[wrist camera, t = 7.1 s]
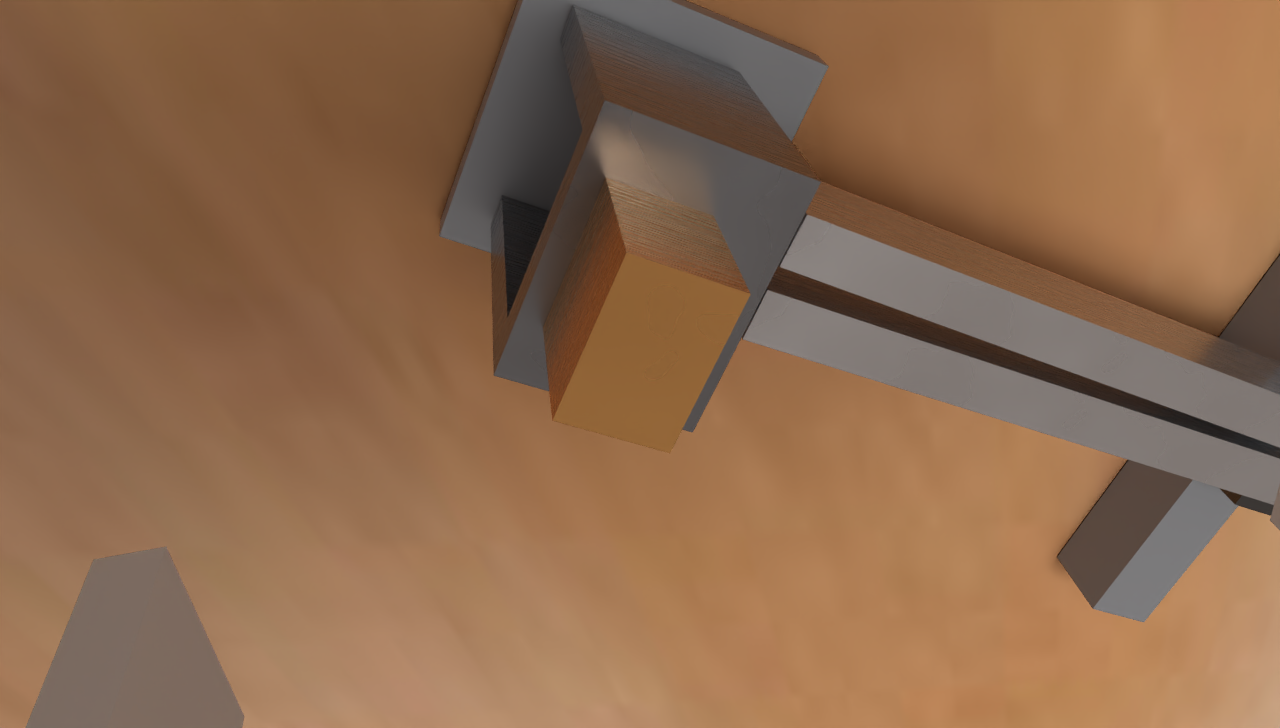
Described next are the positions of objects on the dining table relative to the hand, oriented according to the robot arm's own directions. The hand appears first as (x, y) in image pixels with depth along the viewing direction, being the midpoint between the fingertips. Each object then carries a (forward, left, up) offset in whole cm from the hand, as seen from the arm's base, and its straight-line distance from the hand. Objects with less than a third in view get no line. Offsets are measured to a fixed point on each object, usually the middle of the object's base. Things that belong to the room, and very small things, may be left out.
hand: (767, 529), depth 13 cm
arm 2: (+12, +1, -13) cm, 18 cm away
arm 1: (+12, -2, -13) cm, 18 cm away
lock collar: (0, -1, -14) cm, 14 cm away
